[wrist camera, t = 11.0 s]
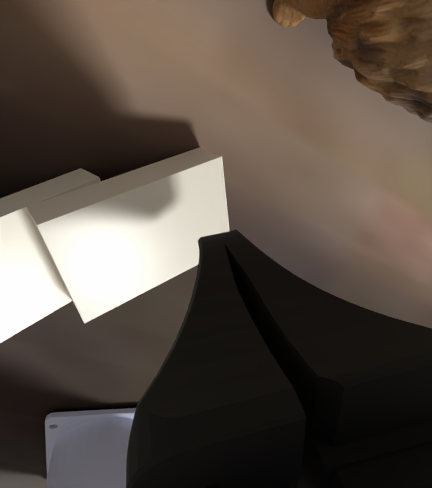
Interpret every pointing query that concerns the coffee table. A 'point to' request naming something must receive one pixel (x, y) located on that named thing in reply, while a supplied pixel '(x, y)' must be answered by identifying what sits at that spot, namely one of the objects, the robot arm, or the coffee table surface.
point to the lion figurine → (377, 44)
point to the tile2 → (31, 256)
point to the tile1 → (133, 228)
